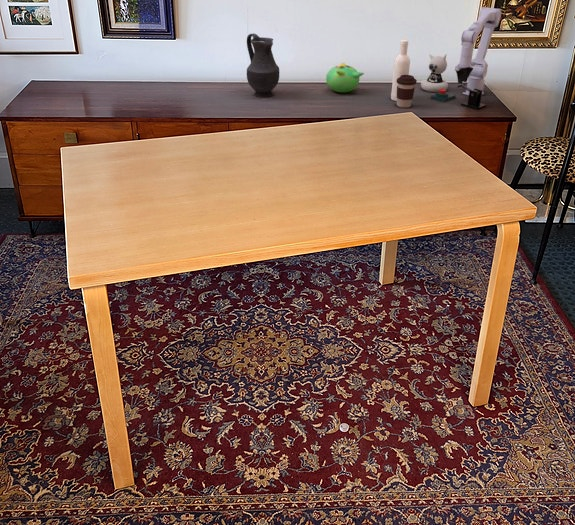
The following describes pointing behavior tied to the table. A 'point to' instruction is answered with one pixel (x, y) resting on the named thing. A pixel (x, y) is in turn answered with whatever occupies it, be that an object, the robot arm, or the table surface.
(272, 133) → the table surface
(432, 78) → the decorative figurine
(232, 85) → the table surface
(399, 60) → the bottle
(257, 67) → the pitcher
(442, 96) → the button box
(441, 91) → the stop button
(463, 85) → the lever
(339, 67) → the toy bird
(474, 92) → the bracket
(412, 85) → the coffee cup
